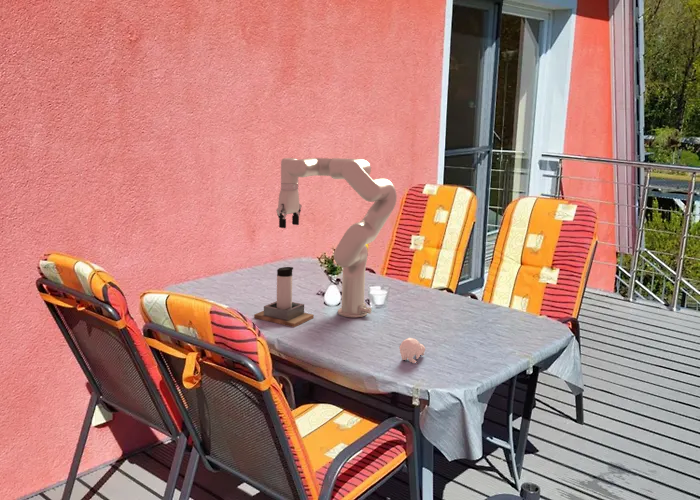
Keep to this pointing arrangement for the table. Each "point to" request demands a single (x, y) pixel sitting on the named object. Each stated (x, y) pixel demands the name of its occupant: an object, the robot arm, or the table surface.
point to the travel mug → (284, 288)
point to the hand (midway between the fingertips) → (289, 226)
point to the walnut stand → (292, 322)
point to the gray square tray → (283, 311)
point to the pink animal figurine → (411, 349)
